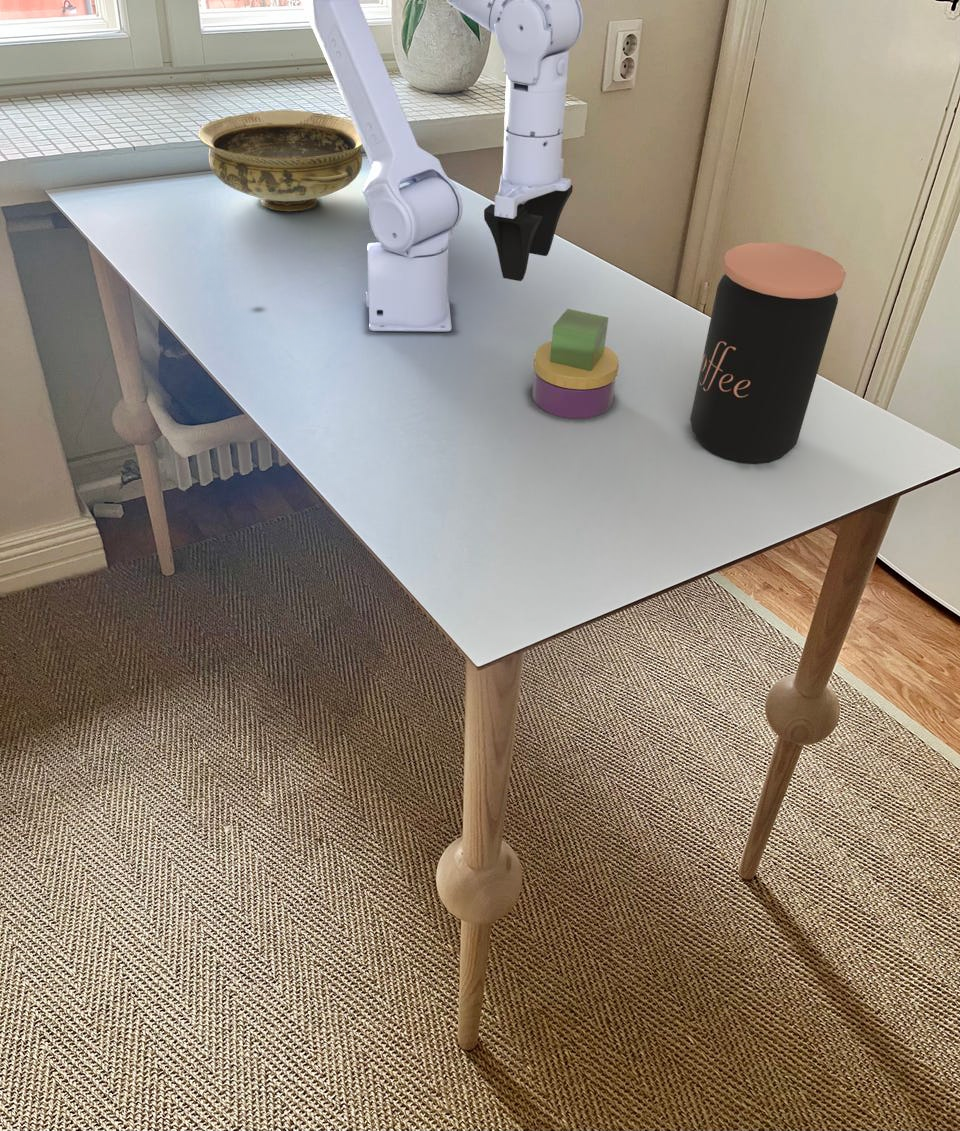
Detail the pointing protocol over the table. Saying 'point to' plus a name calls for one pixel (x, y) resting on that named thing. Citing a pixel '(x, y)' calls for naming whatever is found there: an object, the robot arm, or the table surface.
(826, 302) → the coffee jar
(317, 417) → the table surface
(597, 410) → the jar
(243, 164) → the ceramic bowl
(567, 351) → the block
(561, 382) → the lid
